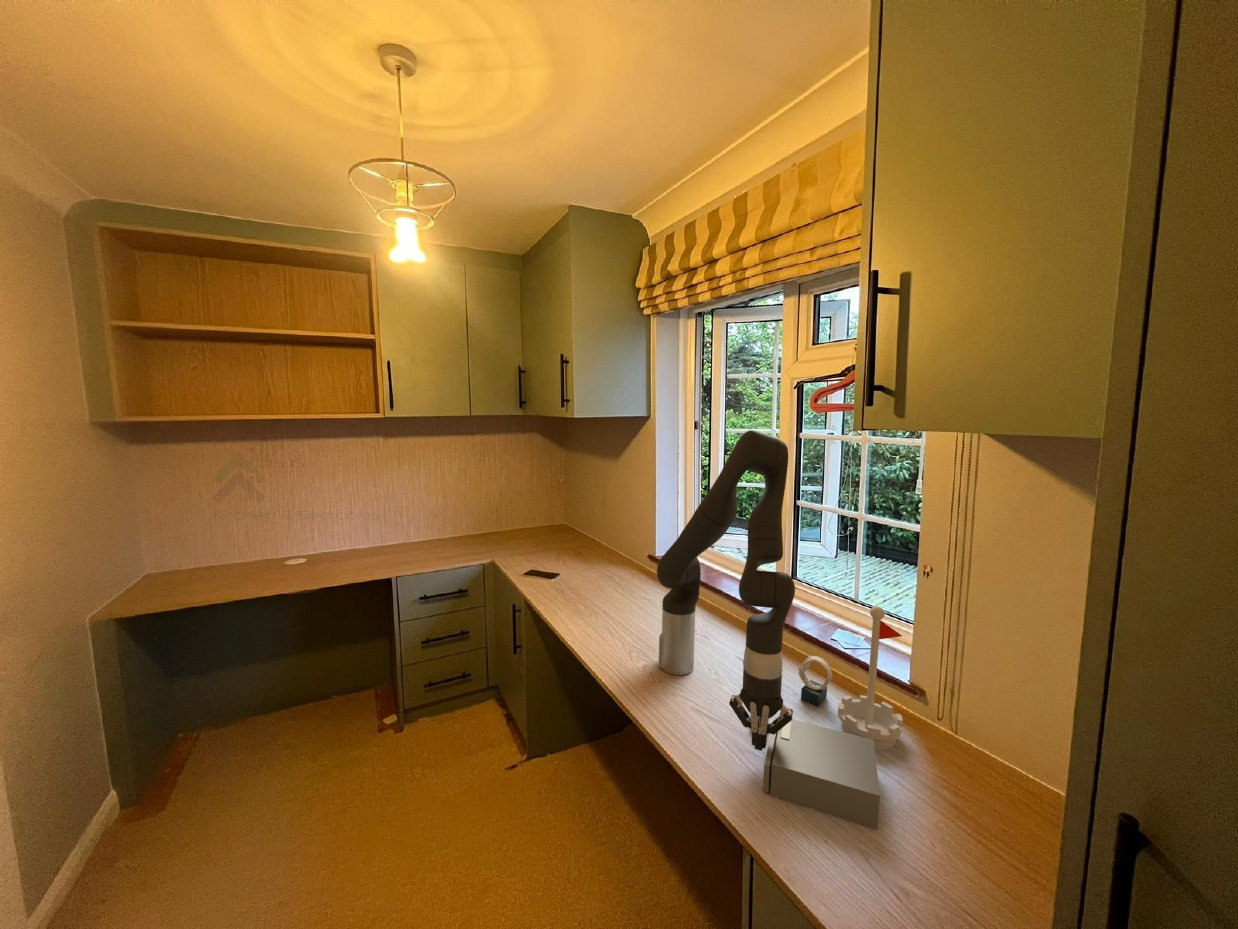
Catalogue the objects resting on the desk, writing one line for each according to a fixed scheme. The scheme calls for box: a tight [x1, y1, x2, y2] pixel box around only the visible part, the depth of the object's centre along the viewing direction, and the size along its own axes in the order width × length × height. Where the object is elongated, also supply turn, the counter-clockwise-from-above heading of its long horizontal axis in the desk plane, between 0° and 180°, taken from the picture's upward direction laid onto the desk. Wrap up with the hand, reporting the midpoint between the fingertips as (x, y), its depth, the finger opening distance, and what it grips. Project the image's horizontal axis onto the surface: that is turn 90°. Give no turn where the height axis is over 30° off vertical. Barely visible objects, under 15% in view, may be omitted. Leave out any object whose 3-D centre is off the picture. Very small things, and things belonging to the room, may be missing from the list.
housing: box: [769, 718, 881, 830], centre depth 96 cm, size 18×16×7 cm
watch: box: [797, 655, 833, 708], centre depth 124 cm, size 6×8×11 cm
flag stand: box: [837, 605, 904, 751], centre depth 110 cm, size 13×13×30 cm
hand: (758, 747), depth 101 cm, fingers closed
